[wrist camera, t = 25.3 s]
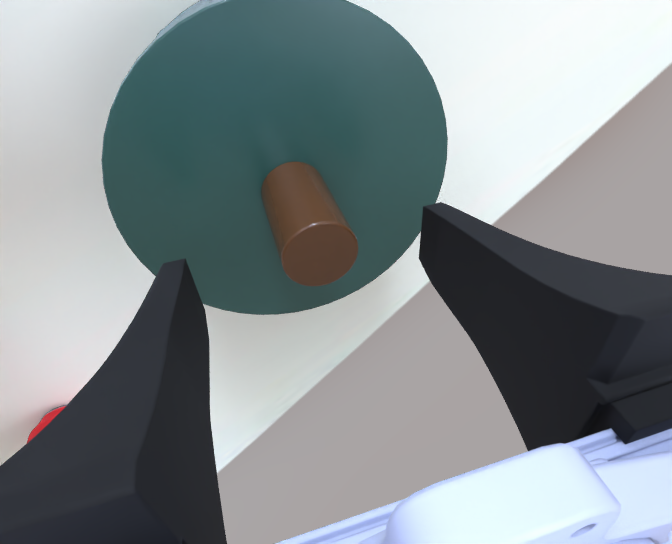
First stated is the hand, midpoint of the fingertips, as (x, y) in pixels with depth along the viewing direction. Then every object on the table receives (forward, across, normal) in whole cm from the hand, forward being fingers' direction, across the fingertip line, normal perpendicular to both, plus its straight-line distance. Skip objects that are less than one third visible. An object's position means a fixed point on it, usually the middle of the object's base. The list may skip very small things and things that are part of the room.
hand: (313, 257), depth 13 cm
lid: (+5, 0, 0) cm, 5 cm away
